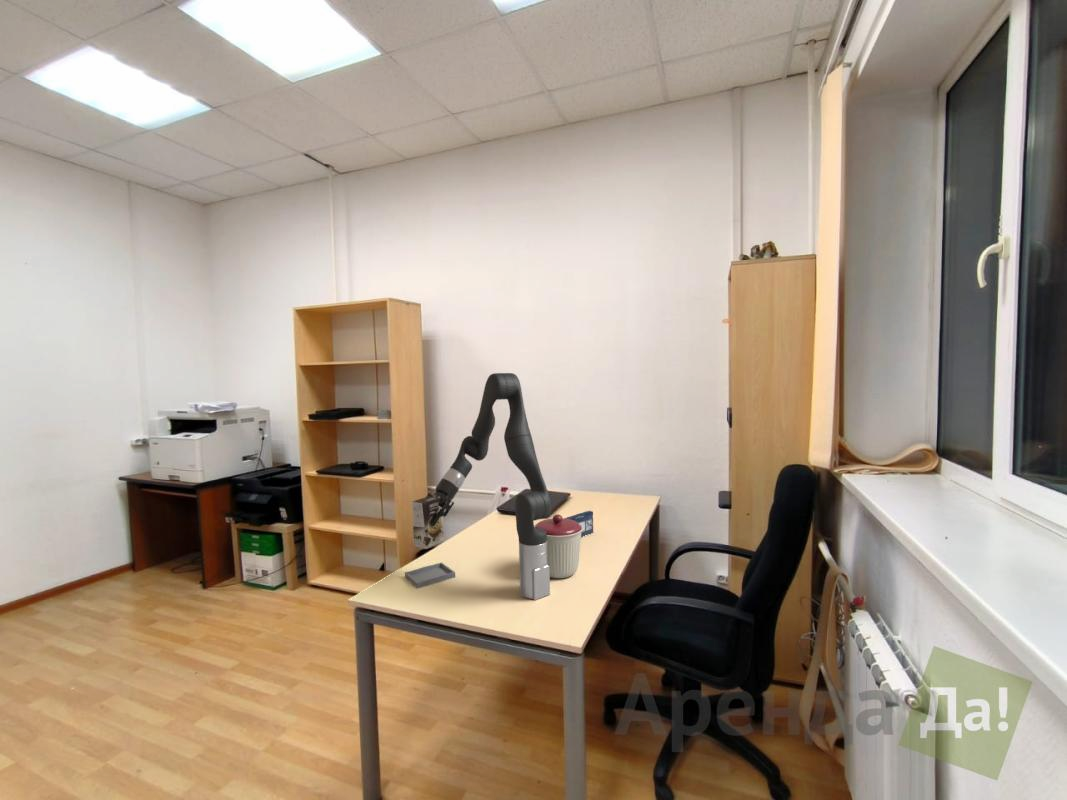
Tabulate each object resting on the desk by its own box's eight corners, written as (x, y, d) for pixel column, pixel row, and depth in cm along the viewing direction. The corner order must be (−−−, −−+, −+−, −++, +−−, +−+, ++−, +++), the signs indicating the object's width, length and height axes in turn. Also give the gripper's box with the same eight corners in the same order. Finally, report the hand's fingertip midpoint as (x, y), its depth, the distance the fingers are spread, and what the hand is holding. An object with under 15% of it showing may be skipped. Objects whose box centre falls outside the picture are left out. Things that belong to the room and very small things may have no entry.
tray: (455, 577, 166) (455, 572, 166) (417, 588, 157) (416, 583, 157) (441, 567, 175) (441, 562, 175) (405, 577, 166) (404, 572, 166)
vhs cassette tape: (564, 543, 196) (563, 520, 195) (559, 542, 198) (559, 519, 198) (594, 533, 207) (593, 511, 207) (589, 532, 210) (589, 510, 209)
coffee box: (426, 549, 160) (424, 503, 159) (413, 546, 163) (411, 501, 162) (444, 541, 168) (443, 496, 167) (431, 538, 171) (429, 494, 170)
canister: (526, 567, 172) (525, 511, 171) (570, 559, 179) (569, 505, 178) (545, 587, 156) (543, 525, 154) (593, 578, 162) (591, 518, 161)
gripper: (433, 475, 175) (407, 513, 167) (456, 480, 165) (429, 520, 157) (445, 486, 179) (420, 523, 171) (468, 492, 169) (443, 532, 161)
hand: (424, 522), depth 164 cm, fingers closed on coffee box, 7 cm apart
